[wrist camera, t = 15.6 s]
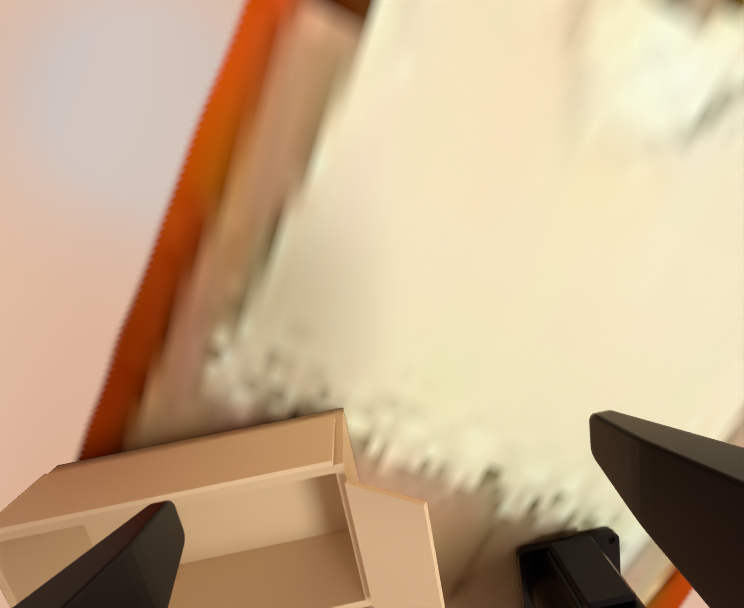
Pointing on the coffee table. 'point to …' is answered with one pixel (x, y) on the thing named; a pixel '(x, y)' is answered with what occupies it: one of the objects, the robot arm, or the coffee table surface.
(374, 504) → the inner flap
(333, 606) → the carton
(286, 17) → the coffee table surface
